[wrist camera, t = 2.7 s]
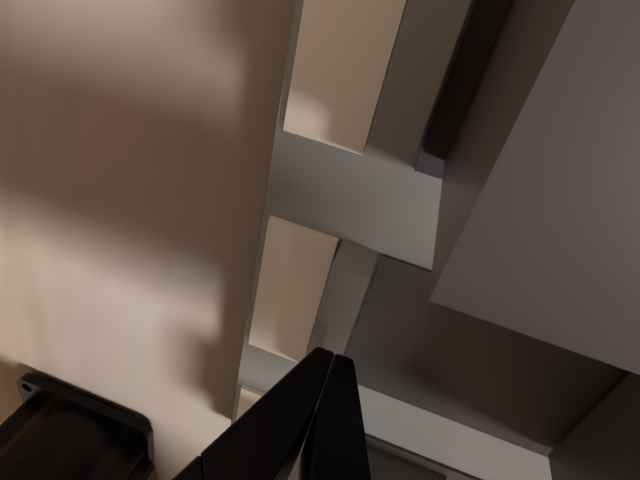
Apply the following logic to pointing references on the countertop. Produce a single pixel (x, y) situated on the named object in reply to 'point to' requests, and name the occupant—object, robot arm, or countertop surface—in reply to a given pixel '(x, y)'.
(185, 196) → the countertop surface
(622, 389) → the block
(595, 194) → the breaker panel
